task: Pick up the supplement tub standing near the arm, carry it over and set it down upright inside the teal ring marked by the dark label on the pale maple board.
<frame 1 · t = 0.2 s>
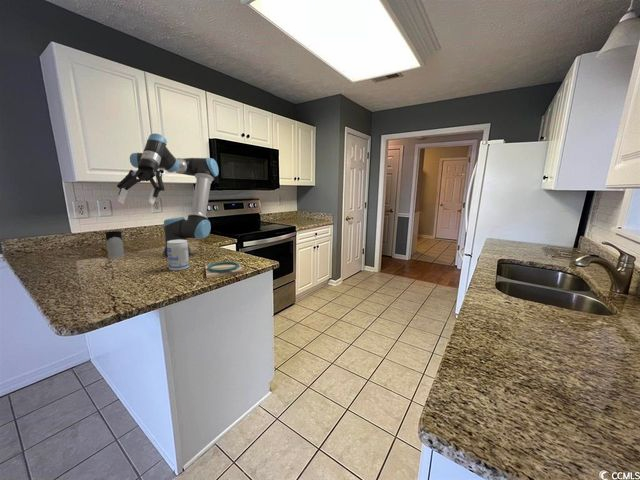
hand: (135, 203, 114), 35 cm above the worktop, tool tilted 35°, fingers open, 13 cm apart
nest board: (223, 270, 135), on the worktop
glass holder: (116, 255, 162), on the worktop
supplement tub: (179, 268, 138), on the worktop
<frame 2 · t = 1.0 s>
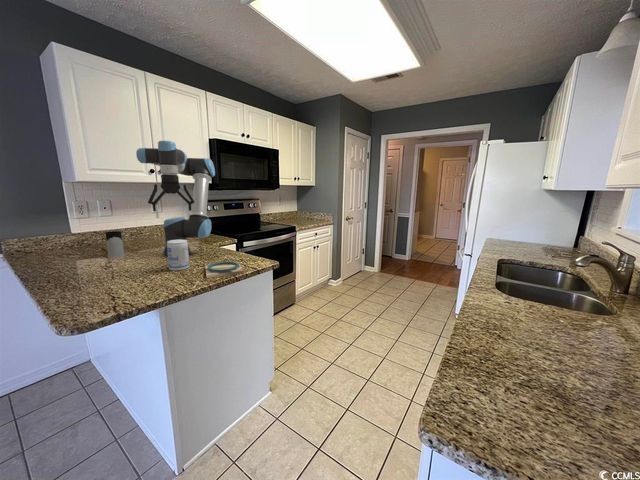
hand: (173, 217, 133), 27 cm above the worktop, tool pointing down, fingers open, 13 cm apart
nothing on the worktop moved.
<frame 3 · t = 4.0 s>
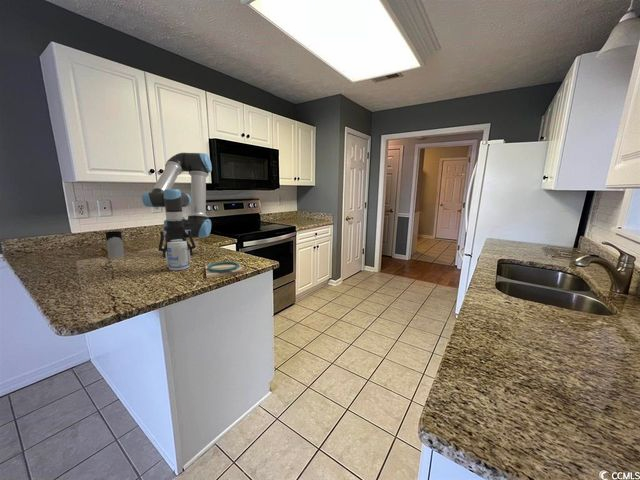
hand: (178, 262, 138), 3 cm above the worktop, tool pointing down, fingers closed on supplement tub, 10 cm apart
supplement tub: (179, 268, 138), on the worktop, touching gripper
everything else where it was.
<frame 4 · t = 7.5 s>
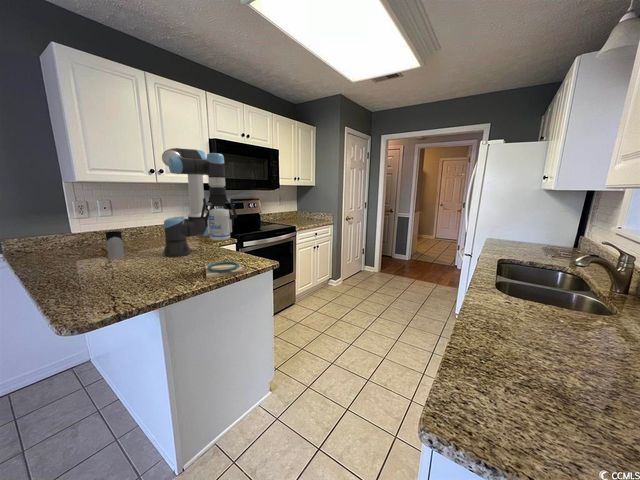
hand: (220, 232, 131), 20 cm above the worktop, tool pointing down, fingers closed on supplement tub, 10 cm apart
supplement tub: (220, 239, 132), point 17 cm above the worktop, touching gripper
everything else where it was.
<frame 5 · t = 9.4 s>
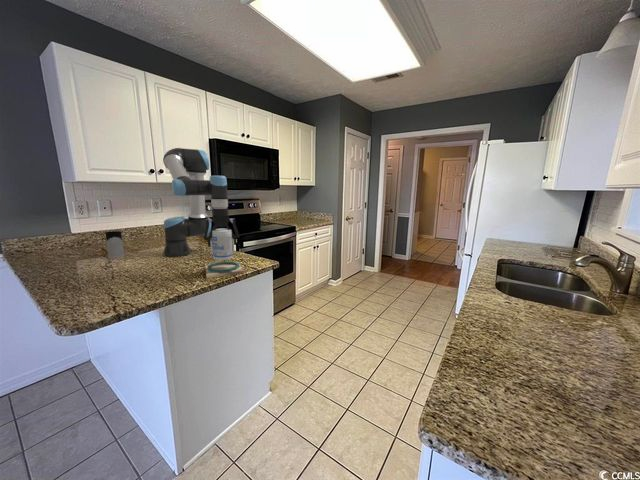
hand: (222, 252, 133), 10 cm above the worktop, tool pointing down, fingers closed on supplement tub, 10 cm apart
supplement tub: (223, 258, 134), point 6 cm above the worktop, touching gripper
everything else where it was.
when the fingers open (6 cm above the worktop, at t = 11.1 s): supplement tub drops 1 cm, resting on nest board.
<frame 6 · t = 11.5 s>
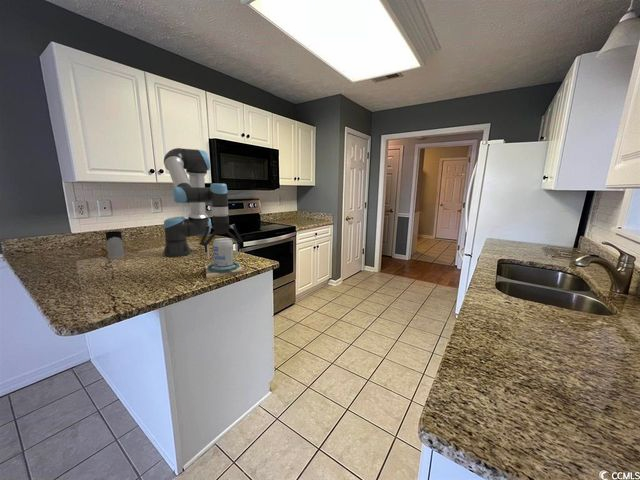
hand: (223, 257, 134), 7 cm above the worktop, tool pointing down, fingers open, 13 cm apart
supplement tub: (224, 268, 135), point 1 cm above the worktop, touching nest board
everything else where it was.
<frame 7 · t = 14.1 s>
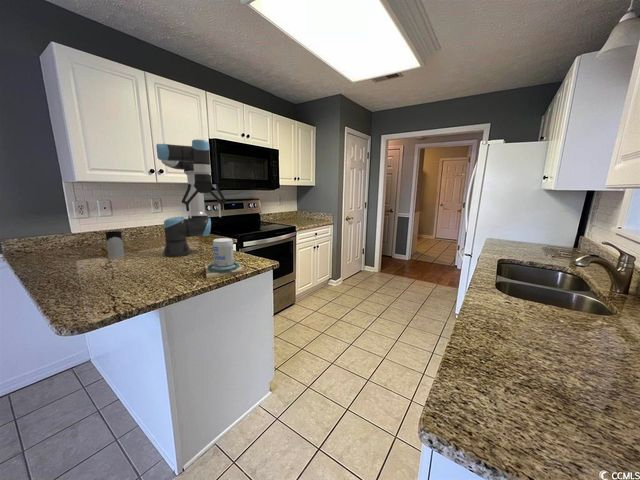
hand: (205, 217, 132), 27 cm above the worktop, tool pointing down, fingers open, 13 cm apart
nothing on the worktop moved.
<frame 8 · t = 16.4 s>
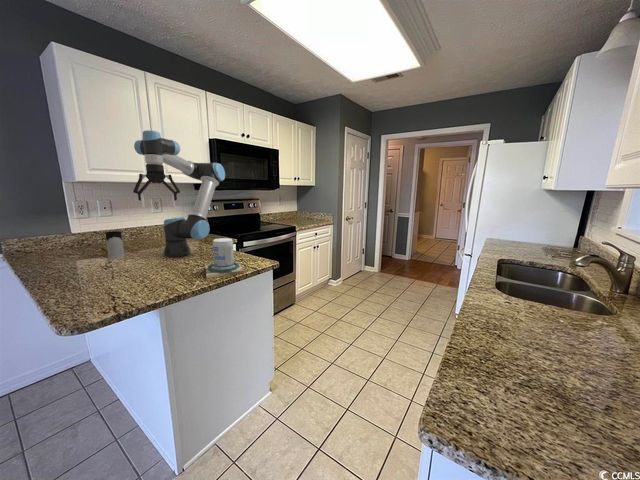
hand: (159, 207, 135), 32 cm above the worktop, tool pointing down, fingers open, 13 cm apart
nothing on the worktop moved.
at the end: supplement tub 0.3 cm off-centre on the nest board, point 1.3 cm above the nest board's base; supplement tub tilted 0°; the gripper is holding nothing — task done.
